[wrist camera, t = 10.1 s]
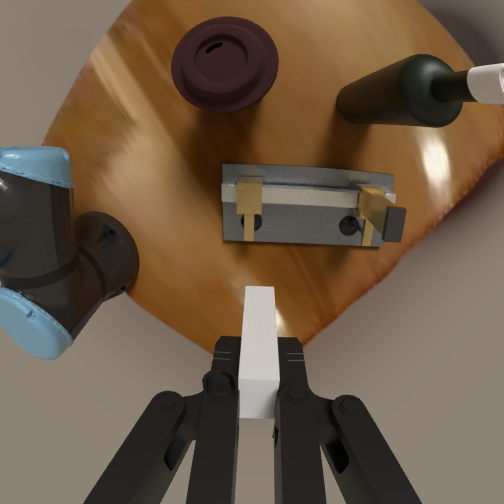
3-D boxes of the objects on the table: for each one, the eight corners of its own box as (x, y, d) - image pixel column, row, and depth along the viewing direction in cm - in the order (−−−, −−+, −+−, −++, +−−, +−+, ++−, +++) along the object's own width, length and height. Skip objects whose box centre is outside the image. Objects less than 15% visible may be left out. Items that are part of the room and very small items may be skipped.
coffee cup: (273, 119, 36) (274, 114, 23) (200, 115, 36) (161, 111, 23) (278, 51, 32) (282, 11, 18) (205, 49, 32) (170, 13, 19)
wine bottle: (361, 131, 36) (526, 166, 9) (328, 106, 35) (461, 73, 8) (383, 101, 34) (556, 94, 6) (350, 76, 33) (497, 7, 5)
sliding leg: (348, 234, 41) (373, 274, 30) (354, 182, 38) (385, 205, 27) (367, 235, 40) (397, 274, 30) (374, 183, 37) (410, 208, 26)
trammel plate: (224, 237, 44) (217, 254, 38) (223, 163, 39) (215, 169, 34) (381, 244, 42) (394, 261, 37) (391, 174, 38) (408, 182, 32)
